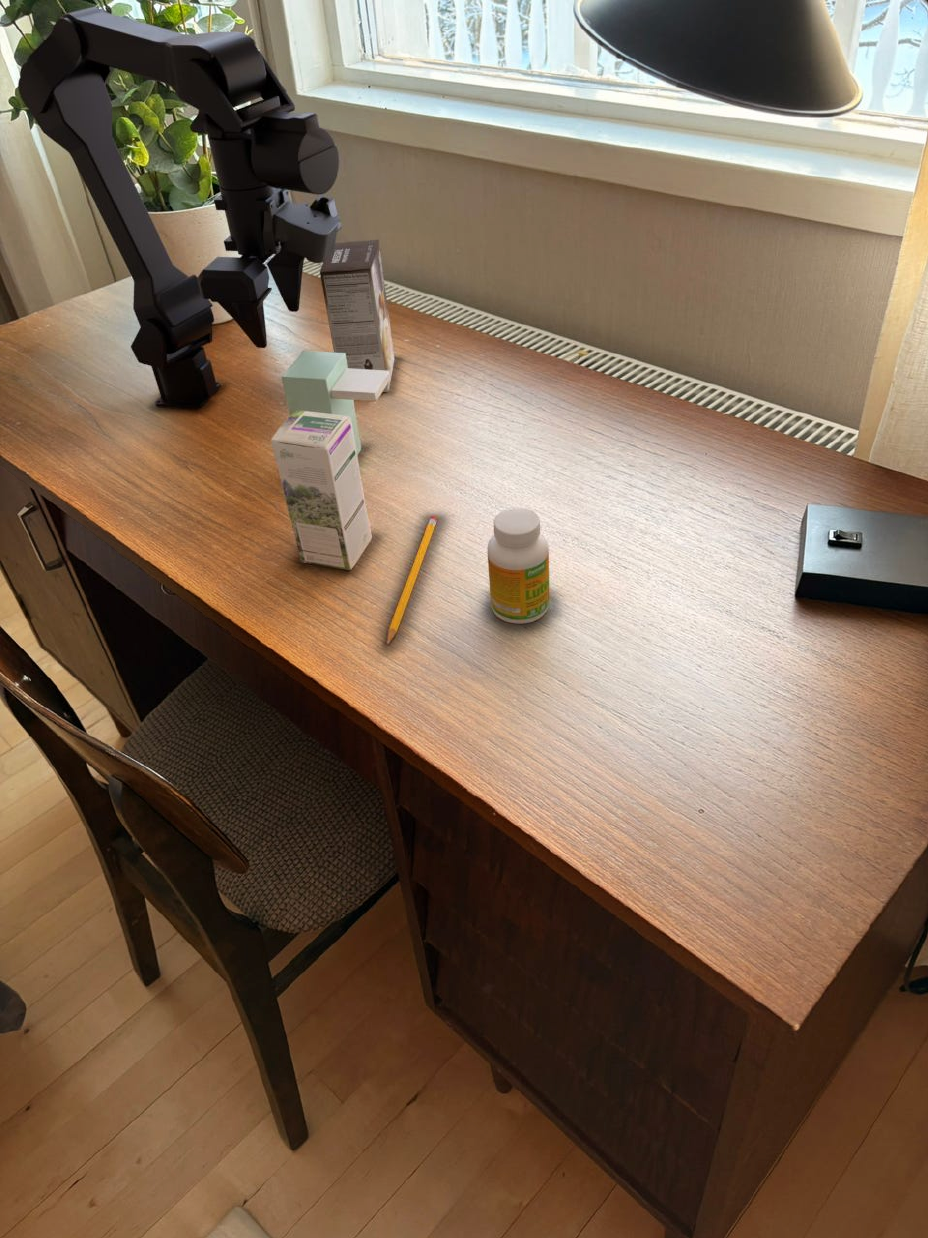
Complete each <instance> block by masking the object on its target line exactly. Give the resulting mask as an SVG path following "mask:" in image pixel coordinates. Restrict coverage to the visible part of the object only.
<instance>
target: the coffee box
mask: <svg viewBox="0 0 928 1238" xmlns="http://www.w3.org/2000/svg"><path fill="white" fill-rule="evenodd" d="M319 276H320V281H321V287H322V293H323V299H324V304H325V309H326V315H327V321H328V326H329V332H330V337H331V343H332V349H333V353H346V359H347V365H348V368H351V369H368V370H385V371H390V378H391V379H390V381H389V382H388V384H387V385H386V387H385V388H384V390H383V391H382V393H386V392H389V391H390V387H391V382H392V375H393V370H394V363H395V353H394V344H393V338H392V330H391V321H390V315H389V306H388V300H387V292H386V284H385V277H384V269H383V263H382V256H381V247H380V239H370V240H369V239H368V240H357V241H355V240H354V241H345V242H335V247H334V251H333V252H332V253H330V254H329V255H328V256H327V257H326V259H325V261H324V262H322V263H321V266H320V270H319Z"/></svg>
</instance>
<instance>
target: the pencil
mask: <svg viewBox="0 0 928 1238" xmlns="http://www.w3.org/2000/svg"><path fill="white" fill-rule="evenodd" d="M428 520H429V521H428V523H427V525H426V529H425V531H424V534H423V537H422V539H421V542H420V544H419V547H418V550H417V553H416V555H415V558H414V560H413V563H412V566H411V569H410V571H409V573H408V576H407V578H406V581H405V582H406V583H405V585H404V587H403V590H402V593H401V595H400V598H399V600H398V604H397V607H396V609H395V612H394V614H393V617H392V620H391V622H390V625H389V627H388V631H387V643H386V644H387V645H389V644H390V643H391V641H392V640H393V638H394V636H395V635H396V634H397V632H398V630H399V626H400V624H401V621H402V620H403V619H402V618H403V615H404V613H405V610H406V608H407V605H408V602H409V600H410V596H411V594H412V591H413V588H414V585H415V584H416V583H415V582H416V580H417V577H418V574H419V572H420V569H421V566H422V563H423V560H424V558H425V555H426V552H427V549H428V547H429V544H430V542H431V538H432V536H433V533H434V530H435V527H436V524H437V522H438V517H437V516H436V515H431V516H430V518H429V519H428Z"/></svg>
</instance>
